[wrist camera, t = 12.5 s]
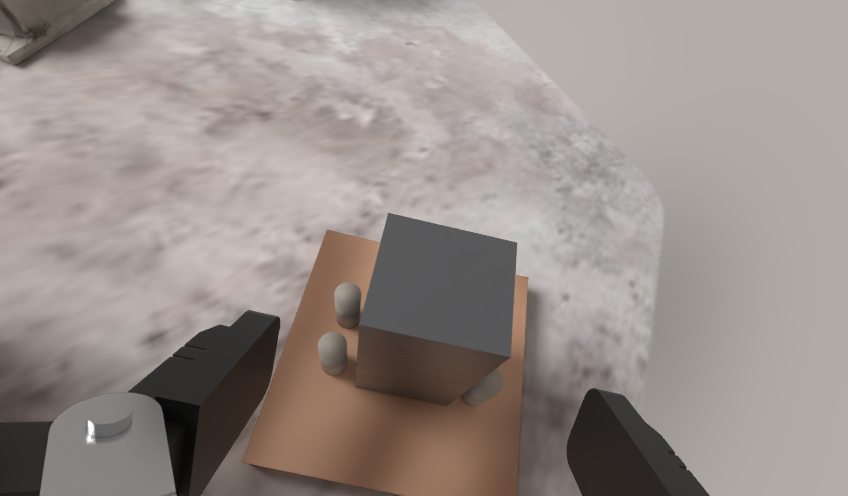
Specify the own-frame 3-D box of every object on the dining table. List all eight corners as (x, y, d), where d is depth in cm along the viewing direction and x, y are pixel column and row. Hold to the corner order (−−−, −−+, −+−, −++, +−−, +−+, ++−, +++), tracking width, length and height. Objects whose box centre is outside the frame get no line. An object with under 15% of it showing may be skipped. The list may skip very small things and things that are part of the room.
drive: (354, 387, 19) (359, 324, 12) (374, 308, 21) (389, 210, 14) (446, 406, 20) (510, 357, 12) (457, 326, 22) (517, 240, 14)
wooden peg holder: (248, 463, 18) (223, 458, 15) (327, 240, 24) (324, 198, 21) (506, 517, 19) (544, 525, 15) (520, 286, 25) (549, 252, 21)
